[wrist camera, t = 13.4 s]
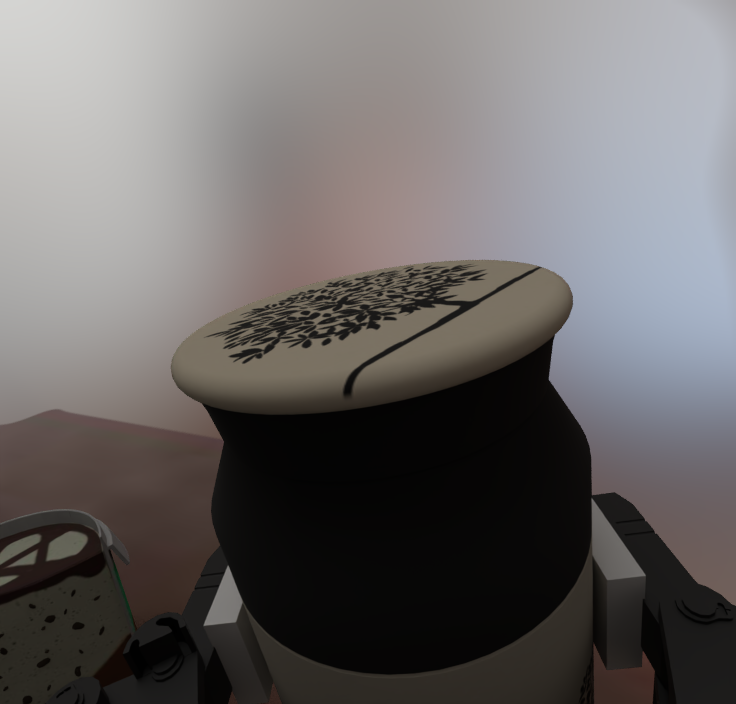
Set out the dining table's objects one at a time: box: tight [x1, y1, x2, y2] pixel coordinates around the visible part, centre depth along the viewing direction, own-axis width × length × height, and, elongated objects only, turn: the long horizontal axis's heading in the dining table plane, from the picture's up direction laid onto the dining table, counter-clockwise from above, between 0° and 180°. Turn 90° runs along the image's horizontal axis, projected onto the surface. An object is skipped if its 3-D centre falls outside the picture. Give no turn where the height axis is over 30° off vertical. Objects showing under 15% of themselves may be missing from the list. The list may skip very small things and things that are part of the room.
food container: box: [0, 509, 137, 704], centre depth 22 cm, size 12×6×10 cm, turn 119°
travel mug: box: [171, 260, 594, 704], centre depth 12 cm, size 8×8×18 cm
